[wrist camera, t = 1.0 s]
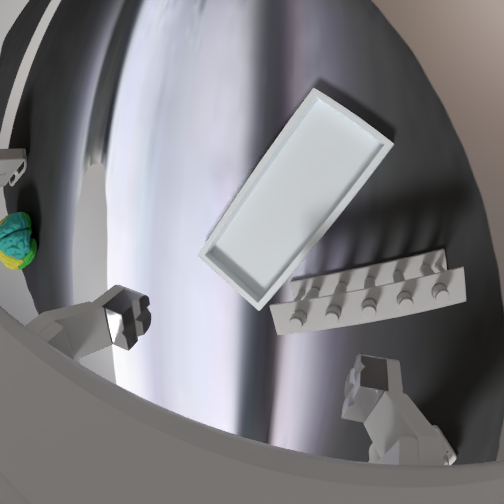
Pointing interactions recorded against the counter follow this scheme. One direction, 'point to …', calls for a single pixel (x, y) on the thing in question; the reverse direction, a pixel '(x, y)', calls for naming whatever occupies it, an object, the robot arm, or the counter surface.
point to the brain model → (16, 241)
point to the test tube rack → (370, 294)
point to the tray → (293, 197)
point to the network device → (11, 165)
